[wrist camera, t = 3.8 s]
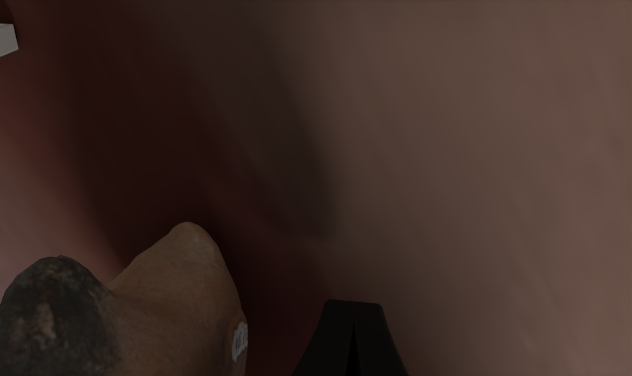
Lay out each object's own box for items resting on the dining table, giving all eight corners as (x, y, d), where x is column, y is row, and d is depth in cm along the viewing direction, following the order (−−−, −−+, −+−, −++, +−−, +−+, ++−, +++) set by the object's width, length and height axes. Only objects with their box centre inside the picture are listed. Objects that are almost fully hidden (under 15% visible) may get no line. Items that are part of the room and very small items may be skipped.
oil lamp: (100, 115, 14) (-180, 335, 7) (254, 119, 13) (130, 355, 6) (152, 366, 18) (13, 664, 11) (269, 373, 18) (205, 685, 11)
